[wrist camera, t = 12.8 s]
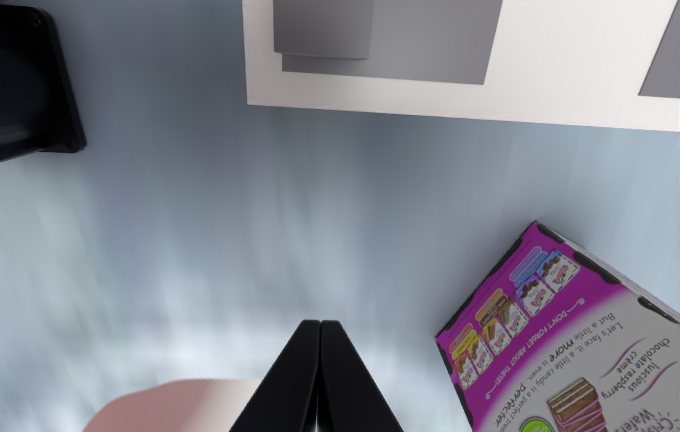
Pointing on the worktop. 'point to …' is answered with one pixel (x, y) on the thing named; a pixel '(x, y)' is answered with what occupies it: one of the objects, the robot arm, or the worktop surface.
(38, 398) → the worktop surface
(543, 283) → the candy bar box
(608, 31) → the switch bank
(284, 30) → the inner tab
